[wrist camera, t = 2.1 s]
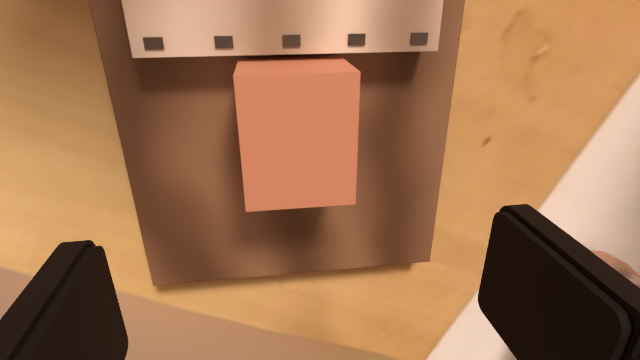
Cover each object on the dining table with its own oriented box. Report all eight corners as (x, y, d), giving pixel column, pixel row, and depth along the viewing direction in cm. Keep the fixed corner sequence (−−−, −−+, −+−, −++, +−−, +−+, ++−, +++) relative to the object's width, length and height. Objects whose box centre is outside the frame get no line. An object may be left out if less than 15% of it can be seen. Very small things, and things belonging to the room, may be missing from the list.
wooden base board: (470, -183, 19) (520, -226, 15) (419, 244, 29) (441, 281, 25) (61, -204, 17) (5, -258, 13) (160, 266, 27) (144, 309, 23)
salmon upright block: (338, 54, 21) (360, 71, 16) (337, 163, 23) (355, 204, 19) (239, 56, 20) (233, 75, 15) (248, 168, 23) (245, 211, 18)
